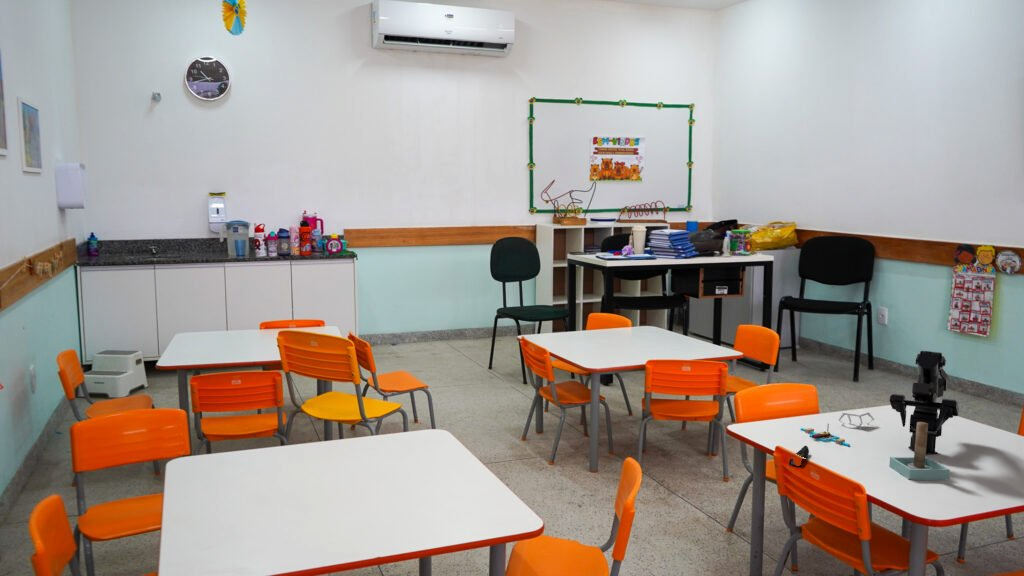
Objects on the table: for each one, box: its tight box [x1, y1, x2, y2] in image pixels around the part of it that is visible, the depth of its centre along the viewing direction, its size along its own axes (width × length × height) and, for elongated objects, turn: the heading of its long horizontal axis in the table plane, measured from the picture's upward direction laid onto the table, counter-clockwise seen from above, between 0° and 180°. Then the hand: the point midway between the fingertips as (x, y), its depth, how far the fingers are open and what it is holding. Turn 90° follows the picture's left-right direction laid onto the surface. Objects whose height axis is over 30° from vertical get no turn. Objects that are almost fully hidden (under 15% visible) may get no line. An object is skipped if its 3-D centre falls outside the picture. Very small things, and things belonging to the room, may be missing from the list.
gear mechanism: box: [800, 423, 851, 447], centre depth 259 cm, size 20×5×9 cm
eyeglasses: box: [838, 410, 875, 430], centre depth 274 cm, size 12×8×5 cm
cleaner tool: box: [908, 422, 930, 469], centre depth 226 cm, size 6×6×15 cm
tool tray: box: [889, 456, 951, 481], centre depth 227 cm, size 12×11×3 cm
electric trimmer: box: [788, 445, 810, 468], centre depth 237 cm, size 4×15×3 cm, turn 146°
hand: (919, 428), depth 233 cm, fingers open, 9 cm apart
